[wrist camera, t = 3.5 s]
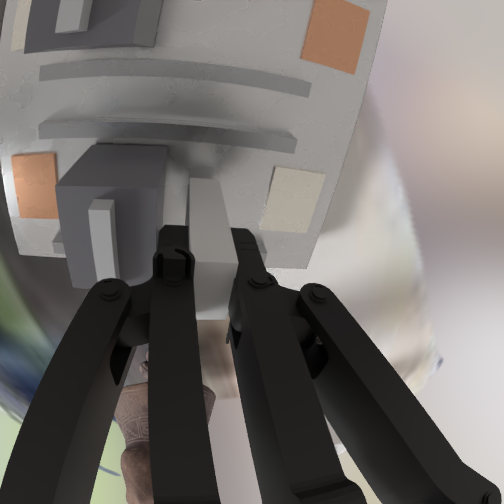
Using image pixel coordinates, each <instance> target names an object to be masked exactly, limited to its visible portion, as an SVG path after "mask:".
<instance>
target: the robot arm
mask: <svg viewBox="0 0 504 504" xmlns="http://www.w3.org/2000/svg"><path fill="white" fill-rule="evenodd" d="M228 311H229V316H230V324H229V328H228V333H227V337H226V344H229V340H230V343H231V349H232V354H233V360H234V366H235V371H236V377H237V382H238V387H239V393H240V398H241V403H242V408H243V413H244V418H245V423H246V428H247V433H248V438H249V443H250V448H251V453H252V457H253V461H254V466H255V471H256V476H257V480H258V485H259V489H260V494H261V498H262V504H367V502H366V499H365V496H364V494H363V492H362V490H361V488H360V487H359V486H358V485H357V484H356V483H354V482H352V481H351V480H349V479H347V477H346V476H345V475H344V472H343V470H342V467H341V464H340V461H339V458H338V455H337V452H336V449H335V446H334V443H333V440H332V437H331V434H330V431H329V428H328V425H327V422H326V419H327V420H328V422H329V423H330V425H331V426H332V428H333V430H334V431H335V433H336V434H337V436H338V437H339V439H340V441H341V442H342V444H343V445H344V447H345V448H346V450H347V451H348V453H349V455H350V456H351V457H352V459H353V461H354V462H355V464H356V465H357V467H358V468H359V470H360V472H361V473H362V475H363V476H364V478H365V479H366V481H367V482H368V484H369V485H370V487H371V488H372V490H373V491H374V493H375V494H376V496H377V497H378V499H379V500H380V501H381V503H382V504H501V493H500V490H499V488H498V487H497V486H496V485H495V484H493V483H492V482H490V481H489V480H487V479H486V478H484V477H483V476H481V475H480V474H479V473H477V472H476V471H474V470H473V469H471V468H470V467H468V466H467V465H466V464H464V463H463V462H462V461H461V459H460V458H459V457H458V455H457V454H456V452H455V451H454V449H453V448H452V447H451V445H450V444H449V442H448V441H447V440H446V438H445V437H444V435H443V434H442V433H441V431H440V430H439V428H438V427H437V426H436V424H435V423H434V422H433V420H432V419H431V417H430V416H429V415H428V414H427V412H426V411H425V409H424V408H423V407H422V405H421V404H420V403H419V401H418V400H417V399H416V397H415V396H414V395H413V393H412V392H411V391H410V389H409V388H408V387H407V385H406V384H405V383H404V381H403V380H402V379H401V377H400V376H399V375H398V374H397V372H396V371H395V370H394V368H393V367H392V366H391V365H390V363H389V362H388V361H387V359H386V358H385V357H384V356H383V354H382V353H381V352H380V350H379V349H378V348H377V347H376V345H375V344H374V343H373V342H372V340H371V339H370V338H369V336H368V335H367V334H366V333H365V331H364V330H363V329H362V328H361V326H360V325H359V324H358V323H357V321H356V320H355V319H354V318H353V316H352V315H351V314H350V313H349V312H348V310H347V309H346V308H345V307H344V305H343V304H342V303H341V302H340V300H339V299H338V298H337V297H336V296H335V294H334V293H333V292H332V291H331V290H330V289H329V288H327V287H325V286H323V285H321V284H317V283H308V284H306V285H304V286H303V287H302V288H301V290H300V291H296V290H292V289H288V288H285V287H282V286H280V285H278V282H277V280H276V279H275V277H274V276H273V275H271V274H270V273H268V272H267V271H266V268H265V265H264V262H263V259H262V257H261V254H260V251H259V248H258V245H257V242H256V239H255V236H254V235H253V234H252V233H251V232H250V231H249V230H248V229H247V228H232V227H230V224H229V220H228V216H227V212H226V207H225V203H224V198H223V194H222V190H221V185H220V181H219V180H215V179H203V178H189V187H188V196H187V206H186V216H185V226H184V225H166V224H165V225H164V226H163V227H162V228H161V230H160V231H159V237H158V245H157V251H156V252H155V253H154V256H153V276H152V277H151V278H150V279H149V280H148V281H146V282H144V283H142V284H139V285H135V286H130V287H129V285H128V284H127V283H126V282H125V281H123V280H120V279H118V278H107V279H102V280H100V281H98V282H97V283H95V284H94V286H93V287H92V288H91V289H90V291H89V293H88V294H87V296H86V298H85V299H84V301H83V303H82V304H81V306H80V308H79V310H78V311H77V313H76V315H75V316H74V318H73V320H72V322H71V324H70V325H69V327H68V329H67V331H66V333H65V334H64V336H63V338H62V340H61V342H60V344H59V346H58V348H57V349H56V351H55V353H54V355H53V357H52V359H51V361H50V363H49V365H48V367H47V369H46V371H45V373H44V376H43V378H42V380H41V382H40V384H39V386H38V388H37V391H36V393H35V395H34V397H33V399H32V402H31V404H30V406H29V409H28V411H27V414H26V416H25V418H24V421H23V423H22V426H21V428H20V431H19V434H18V436H17V439H16V442H15V445H14V447H13V450H12V453H11V456H10V459H9V462H8V465H7V468H6V471H5V475H4V478H3V481H2V485H1V488H0V504H90V500H91V495H92V492H93V488H94V483H95V479H96V475H97V472H98V468H99V464H100V460H101V456H102V453H103V450H104V446H105V443H106V439H107V436H108V432H109V429H110V426H111V422H112V419H113V416H114V413H115V410H116V406H117V403H118V400H119V397H120V394H121V391H122V388H123V385H124V382H125V379H126V376H127V373H128V370H129V368H130V365H131V362H132V359H133V356H134V354H135V351H136V348H137V346H138V345H142V344H146V343H149V348H148V429H149V451H150V466H151V479H152V490H153V500H154V504H221V502H220V498H219V493H218V487H217V482H216V476H215V470H214V464H213V457H212V451H211V444H210V437H209V431H208V423H207V416H206V408H205V400H204V392H203V383H202V374H201V365H200V355H199V344H198V333H197V322H196V319H198V320H227V316H228ZM319 339H320V340H319ZM324 415H325V416H324ZM325 417H326V419H325Z"/></svg>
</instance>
